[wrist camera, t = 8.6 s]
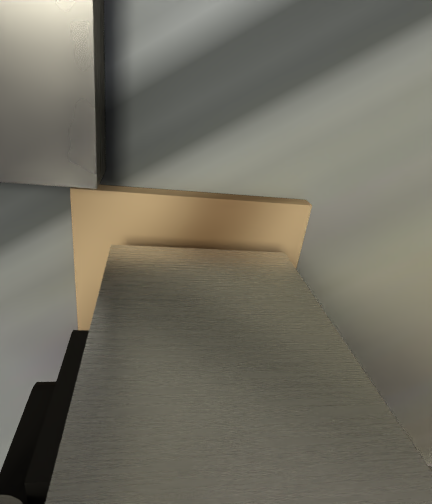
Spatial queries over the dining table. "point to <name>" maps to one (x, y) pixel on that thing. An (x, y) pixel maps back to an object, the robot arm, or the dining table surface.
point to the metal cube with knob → (224, 393)
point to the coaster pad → (175, 228)
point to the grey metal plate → (52, 92)
